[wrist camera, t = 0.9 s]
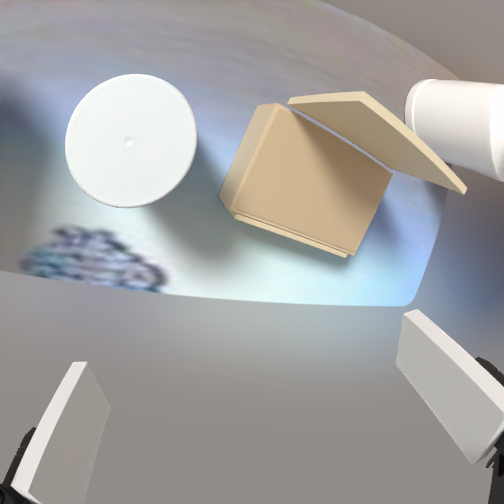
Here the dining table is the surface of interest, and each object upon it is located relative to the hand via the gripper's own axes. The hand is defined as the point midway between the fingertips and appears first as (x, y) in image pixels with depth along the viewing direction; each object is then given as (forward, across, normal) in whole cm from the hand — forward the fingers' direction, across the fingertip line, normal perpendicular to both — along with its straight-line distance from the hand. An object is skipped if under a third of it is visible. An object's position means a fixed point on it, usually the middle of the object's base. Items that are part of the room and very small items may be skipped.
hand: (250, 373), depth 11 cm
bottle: (+32, +35, +13) cm, 50 cm away
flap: (+23, +14, +10) cm, 28 cm away
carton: (+29, +10, +5) cm, 31 cm away
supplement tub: (+25, -8, +12) cm, 29 cm away
